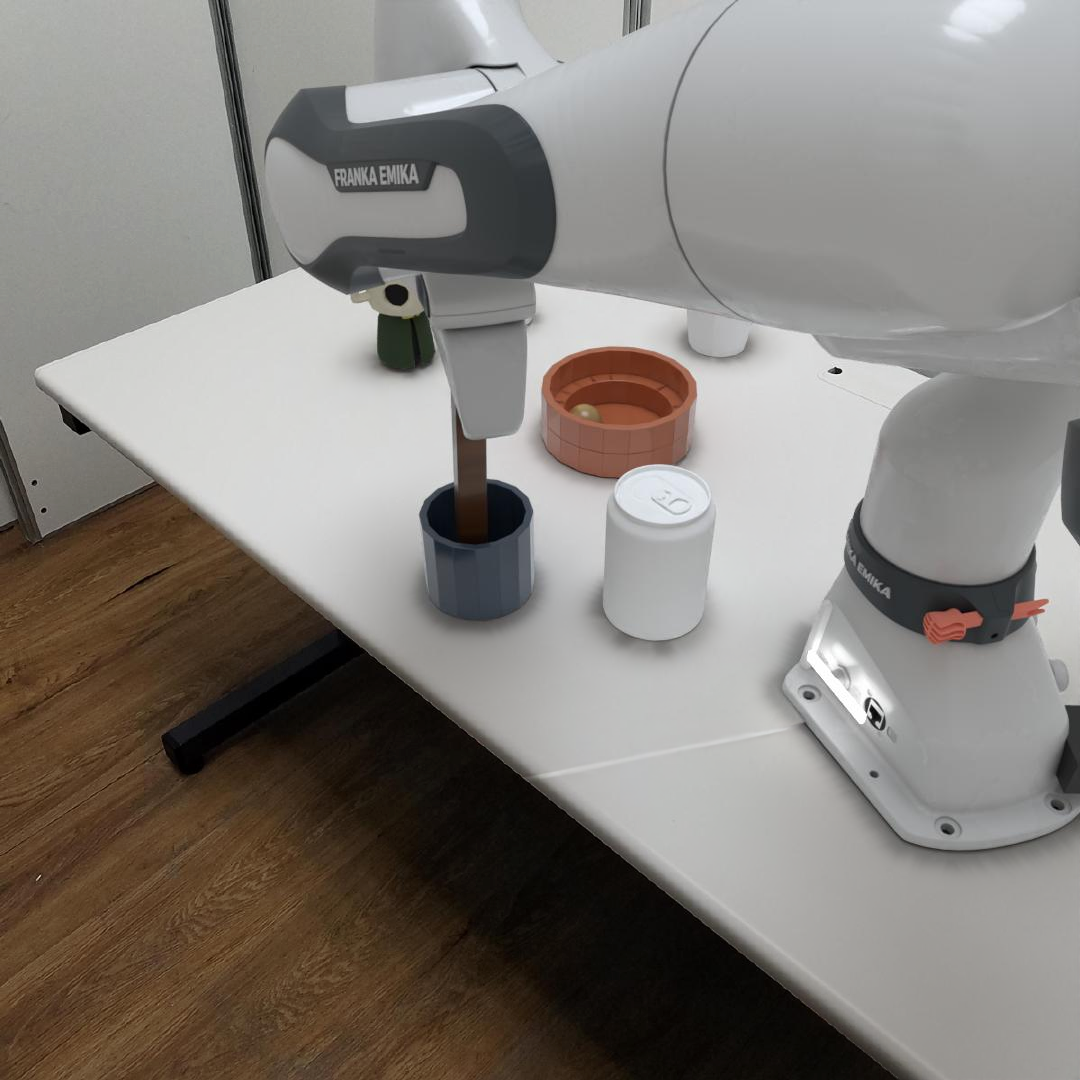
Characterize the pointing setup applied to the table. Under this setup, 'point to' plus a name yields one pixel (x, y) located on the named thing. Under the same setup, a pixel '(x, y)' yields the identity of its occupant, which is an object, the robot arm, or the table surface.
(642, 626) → the beverage can
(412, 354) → the character mug
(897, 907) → the table surface
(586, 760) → the table surface
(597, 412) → the bead
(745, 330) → the foam cup
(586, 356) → the bowl
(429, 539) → the pot
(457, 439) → the stick
